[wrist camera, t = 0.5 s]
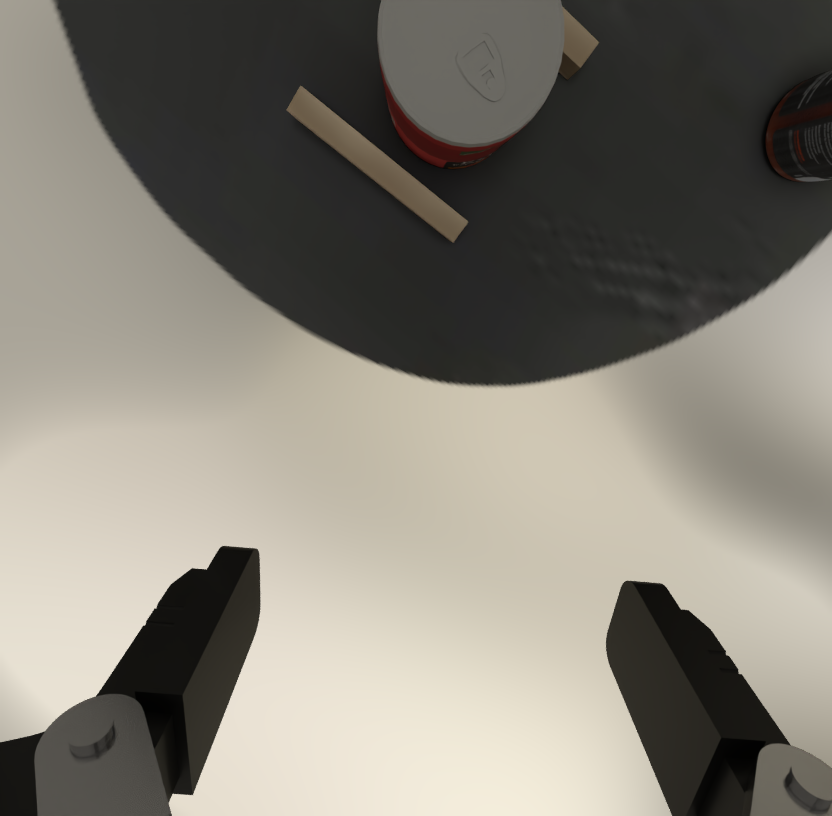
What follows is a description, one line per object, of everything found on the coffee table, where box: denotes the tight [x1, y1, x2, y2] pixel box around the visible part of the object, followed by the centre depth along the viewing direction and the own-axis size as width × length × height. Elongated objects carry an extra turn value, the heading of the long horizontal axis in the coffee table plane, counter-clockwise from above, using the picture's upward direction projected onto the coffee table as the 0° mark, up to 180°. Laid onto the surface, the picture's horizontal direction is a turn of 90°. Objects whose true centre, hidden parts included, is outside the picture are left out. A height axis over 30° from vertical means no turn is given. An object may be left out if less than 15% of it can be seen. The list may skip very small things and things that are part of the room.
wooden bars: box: [287, 7, 599, 242], centre depth 30 cm, size 13×12×2 cm
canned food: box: [377, 0, 564, 169], centre depth 26 cm, size 8×8×11 cm
